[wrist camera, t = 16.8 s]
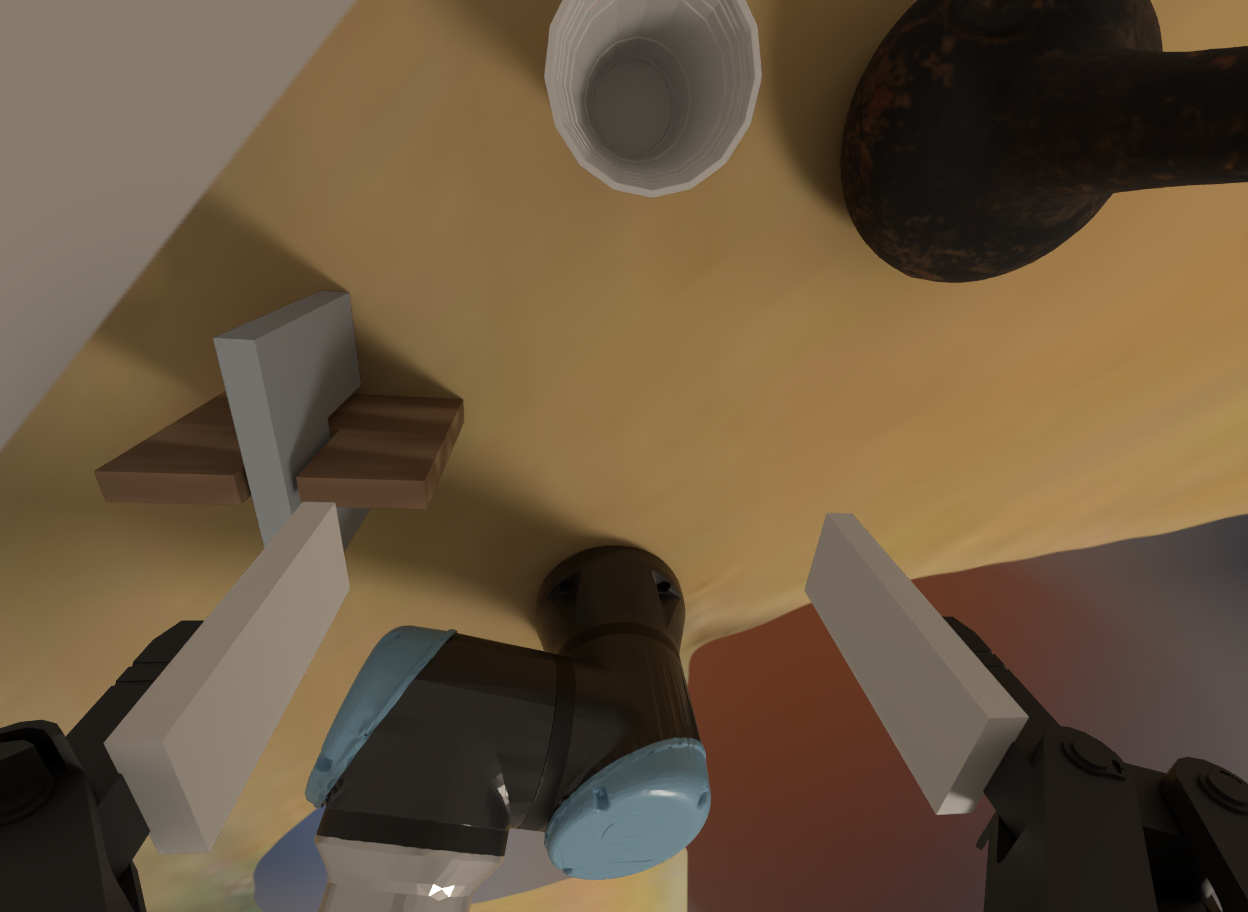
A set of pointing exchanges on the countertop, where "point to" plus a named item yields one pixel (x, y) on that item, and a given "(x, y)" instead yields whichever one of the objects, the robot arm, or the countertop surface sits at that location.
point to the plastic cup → (652, 88)
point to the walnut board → (341, 472)
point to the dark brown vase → (1028, 128)
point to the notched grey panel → (289, 398)
